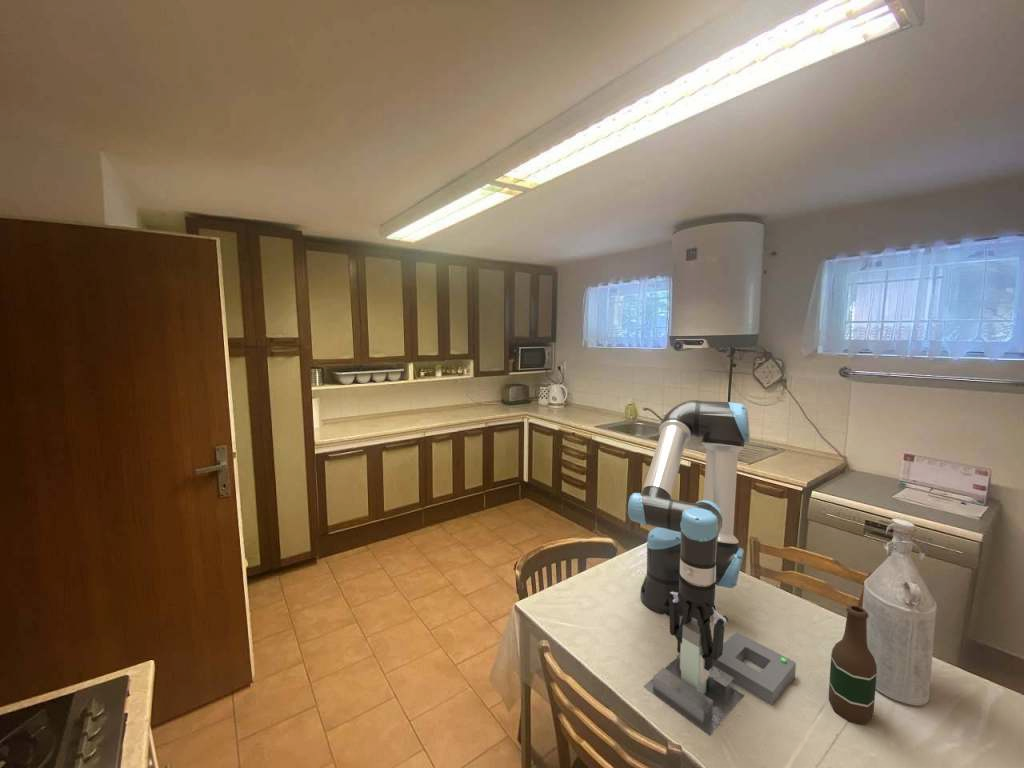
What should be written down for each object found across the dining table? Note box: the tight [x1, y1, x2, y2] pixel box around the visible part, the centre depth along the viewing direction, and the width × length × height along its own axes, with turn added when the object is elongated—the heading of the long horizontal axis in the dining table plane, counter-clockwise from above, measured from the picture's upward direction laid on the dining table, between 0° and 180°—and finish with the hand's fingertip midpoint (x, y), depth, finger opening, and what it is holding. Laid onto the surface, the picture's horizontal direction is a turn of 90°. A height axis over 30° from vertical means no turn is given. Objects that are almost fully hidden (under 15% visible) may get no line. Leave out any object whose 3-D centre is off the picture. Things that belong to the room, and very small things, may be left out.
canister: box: [861, 518, 938, 706], centre depth 99 cm, size 13×17×40 cm
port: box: [713, 631, 797, 706], centre depth 103 cm, size 14×14×5 cm
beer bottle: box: [828, 604, 877, 726], centre depth 92 cm, size 8×8×24 cm
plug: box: [681, 618, 706, 694], centre depth 97 cm, size 4×4×16 cm
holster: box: [643, 653, 745, 737], centre depth 98 cm, size 16×16×4 cm
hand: (693, 673), depth 97 cm, fingers closed on plug, 4 cm apart
